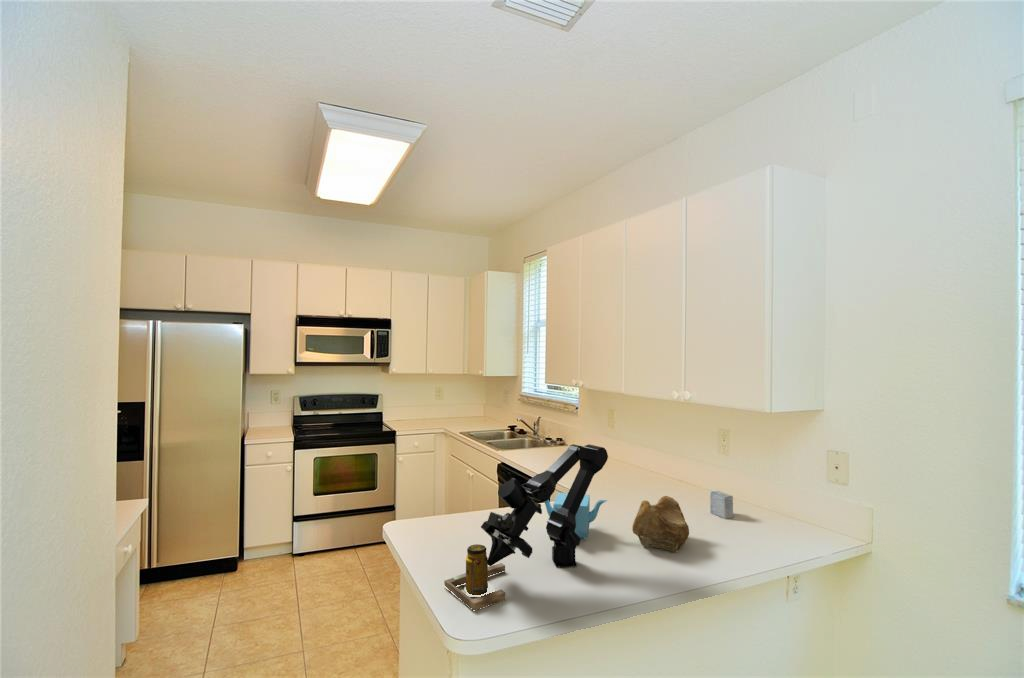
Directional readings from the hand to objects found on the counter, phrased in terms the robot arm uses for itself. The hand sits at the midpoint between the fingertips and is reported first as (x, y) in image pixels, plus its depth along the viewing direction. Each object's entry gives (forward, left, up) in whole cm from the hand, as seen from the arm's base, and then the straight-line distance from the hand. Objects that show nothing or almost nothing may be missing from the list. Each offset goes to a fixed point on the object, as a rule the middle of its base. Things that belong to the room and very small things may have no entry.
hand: (488, 564), depth 141 cm
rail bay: (0, 0, -7) cm, 7 cm away
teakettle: (-33, -38, -7) cm, 51 cm away
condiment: (+2, +1, -7) cm, 7 cm away
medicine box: (-97, -51, -7) cm, 110 cm away
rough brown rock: (-62, -24, -7) cm, 67 cm away
